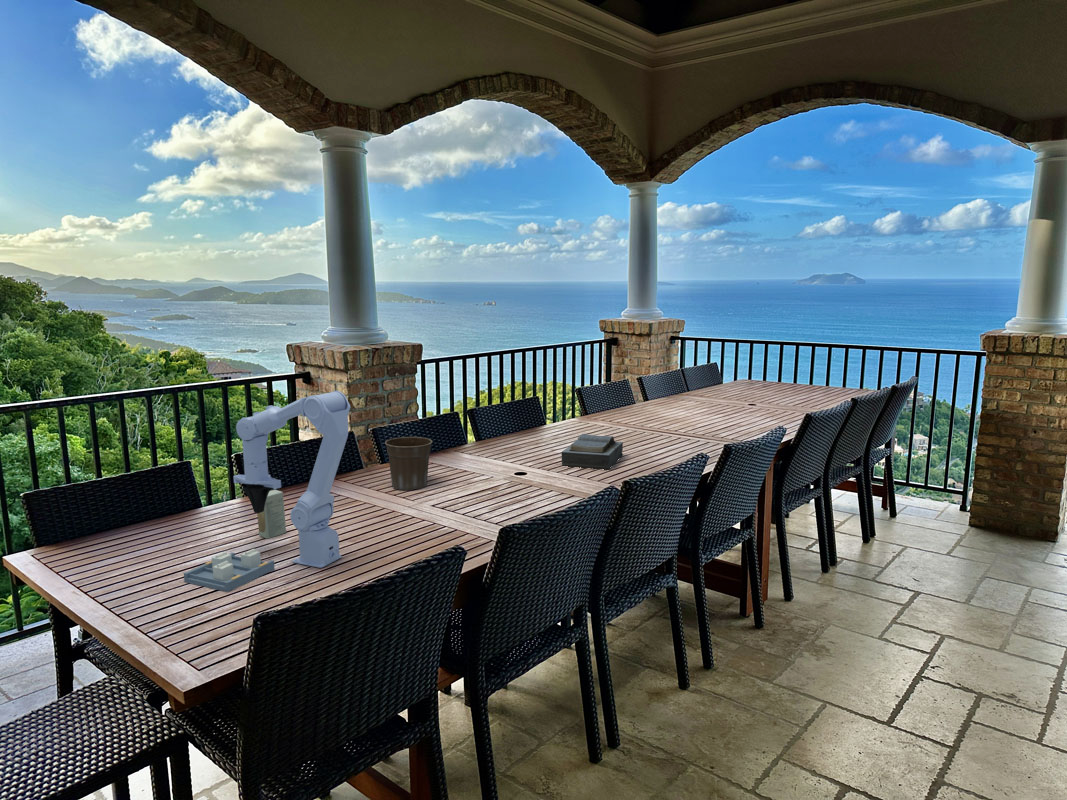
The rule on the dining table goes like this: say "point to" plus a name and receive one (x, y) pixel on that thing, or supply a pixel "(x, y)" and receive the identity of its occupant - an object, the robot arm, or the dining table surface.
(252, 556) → the tab
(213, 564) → the tab
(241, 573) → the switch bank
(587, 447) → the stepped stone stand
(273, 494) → the skincare box
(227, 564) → the tab
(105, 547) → the dining table surface
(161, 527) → the dining table surface
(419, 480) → the plant pot
